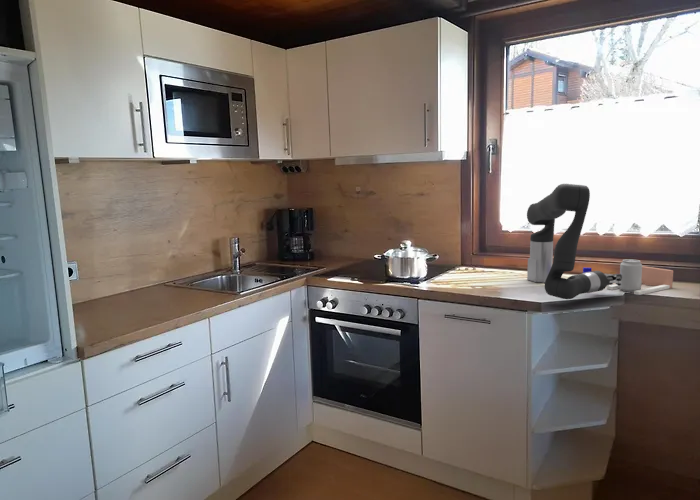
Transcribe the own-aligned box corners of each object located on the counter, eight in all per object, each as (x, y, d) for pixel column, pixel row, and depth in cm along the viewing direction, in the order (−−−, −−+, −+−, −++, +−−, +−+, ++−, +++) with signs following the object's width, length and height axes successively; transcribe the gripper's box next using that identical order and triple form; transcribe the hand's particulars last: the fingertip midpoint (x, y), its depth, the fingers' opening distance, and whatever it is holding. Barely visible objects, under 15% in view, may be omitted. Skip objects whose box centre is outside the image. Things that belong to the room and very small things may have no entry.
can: (620, 291, 201) (621, 261, 199) (618, 287, 207) (619, 258, 206) (642, 293, 198) (643, 262, 196) (639, 289, 205) (641, 259, 203)
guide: (639, 295, 195) (640, 276, 194) (607, 288, 206) (608, 271, 205) (672, 287, 206) (673, 270, 205) (640, 282, 217) (641, 265, 216)
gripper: (607, 274, 184) (637, 269, 192) (575, 269, 195) (604, 264, 203) (606, 295, 185) (635, 289, 193) (574, 288, 196) (603, 283, 205)
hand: (619, 276), depth 198 cm, fingers closed
